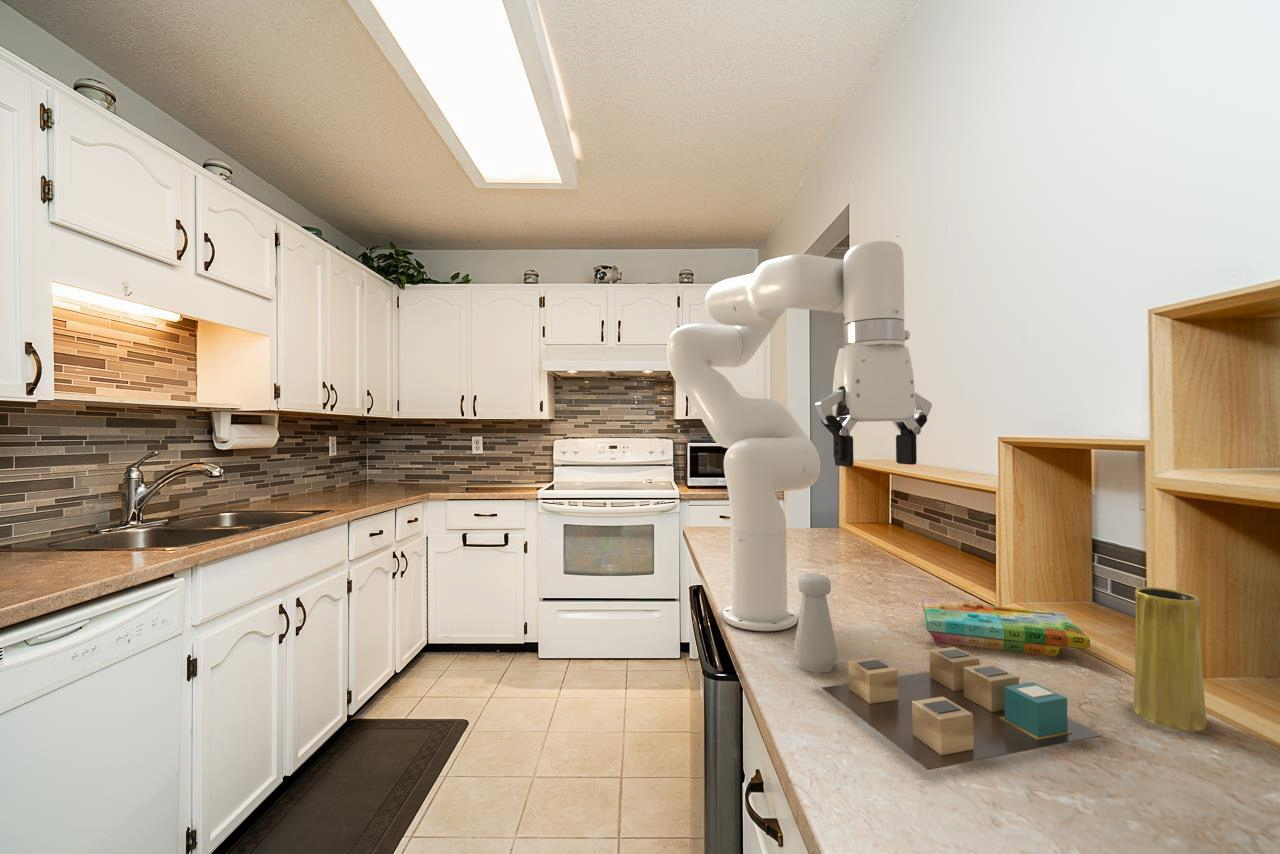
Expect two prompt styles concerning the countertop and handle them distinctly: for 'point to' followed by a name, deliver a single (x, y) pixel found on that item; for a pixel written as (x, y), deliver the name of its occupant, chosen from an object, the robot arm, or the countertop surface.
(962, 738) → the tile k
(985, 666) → the tile
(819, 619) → the salt shaker
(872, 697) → the light wood cube
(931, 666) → the tile
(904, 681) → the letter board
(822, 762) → the countertop surface
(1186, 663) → the vase
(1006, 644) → the puzzle game
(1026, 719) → the tile
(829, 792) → the countertop surface
